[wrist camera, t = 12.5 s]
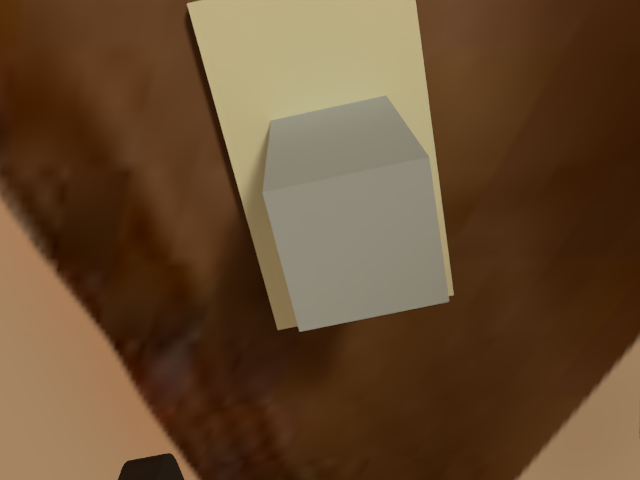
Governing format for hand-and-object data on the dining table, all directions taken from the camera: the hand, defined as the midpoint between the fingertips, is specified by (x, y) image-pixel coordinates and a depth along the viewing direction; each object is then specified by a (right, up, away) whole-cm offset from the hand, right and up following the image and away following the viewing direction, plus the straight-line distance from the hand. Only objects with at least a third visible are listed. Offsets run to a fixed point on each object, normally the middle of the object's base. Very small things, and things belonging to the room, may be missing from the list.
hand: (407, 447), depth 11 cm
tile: (-1, +7, +14) cm, 16 cm away
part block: (-1, +7, +14) cm, 15 cm away
